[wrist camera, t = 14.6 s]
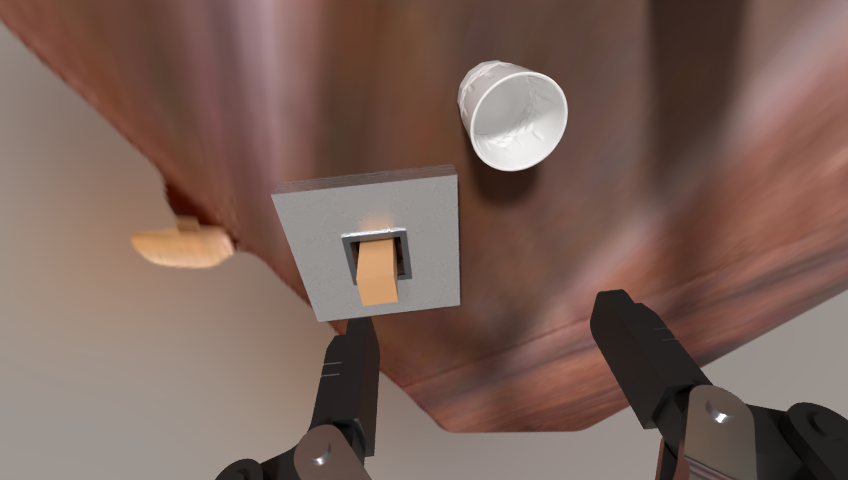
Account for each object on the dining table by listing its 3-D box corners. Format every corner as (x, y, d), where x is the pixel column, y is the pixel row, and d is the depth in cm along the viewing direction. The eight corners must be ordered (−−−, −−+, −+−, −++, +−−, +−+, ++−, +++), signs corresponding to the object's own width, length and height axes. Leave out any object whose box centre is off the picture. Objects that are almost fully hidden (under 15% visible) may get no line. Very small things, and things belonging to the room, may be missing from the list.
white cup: (454, 138, 38) (472, 177, 30) (448, 59, 34) (468, 80, 26) (524, 128, 38) (562, 164, 30) (528, 47, 34) (574, 64, 26)
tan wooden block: (392, 229, 44) (393, 275, 37) (396, 253, 47) (398, 301, 39) (361, 232, 44) (356, 279, 37) (366, 257, 47) (363, 306, 39)
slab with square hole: (452, 163, 40) (457, 175, 37) (456, 290, 52) (460, 306, 49) (277, 182, 39) (269, 196, 37) (321, 306, 51) (317, 323, 48)
